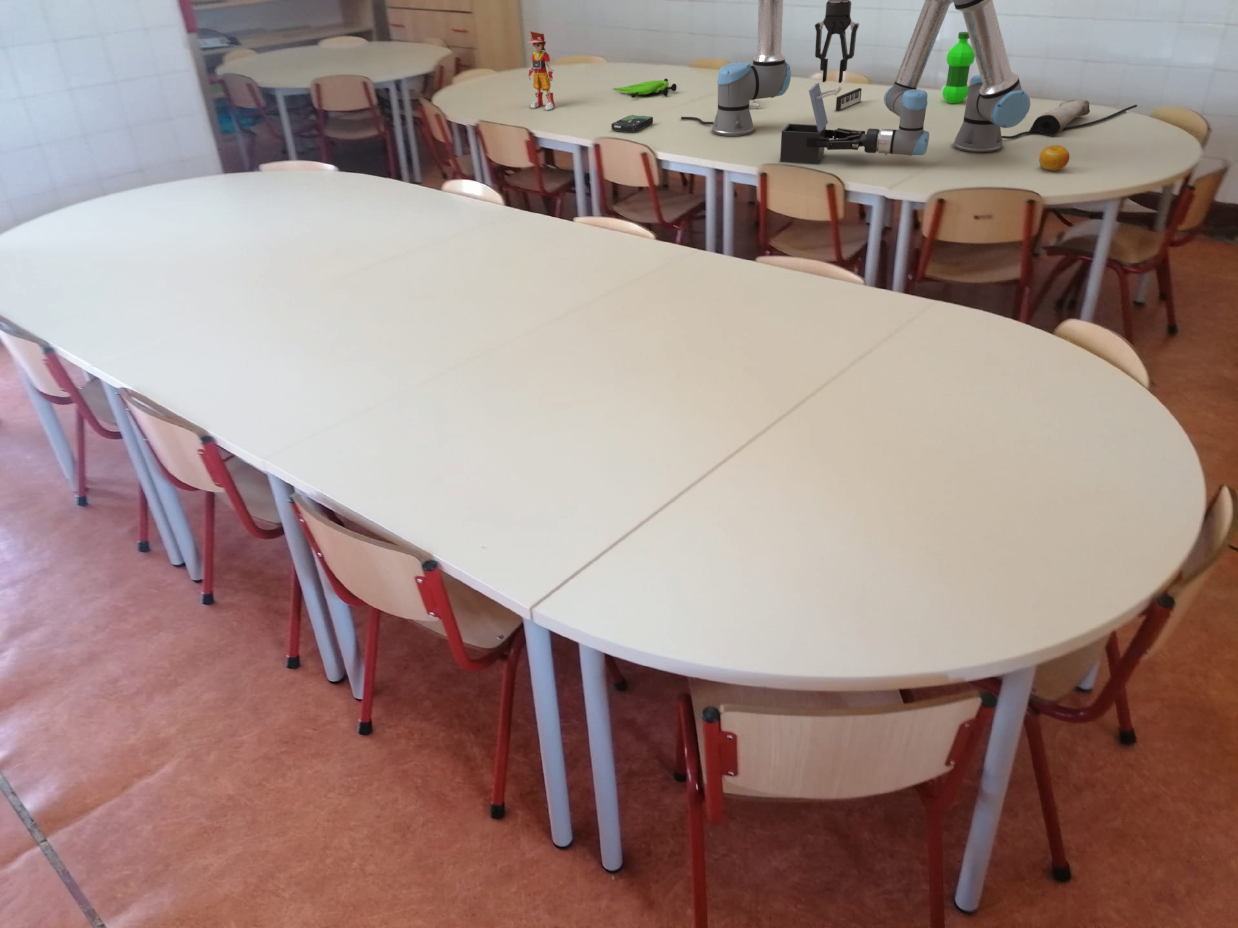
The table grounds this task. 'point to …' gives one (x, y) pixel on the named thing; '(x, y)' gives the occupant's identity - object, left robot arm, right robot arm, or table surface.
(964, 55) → the plastic bottle
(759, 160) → the table surface
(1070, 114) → the rolled mat
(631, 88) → the toy
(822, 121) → the lid
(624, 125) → the disk drive
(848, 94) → the midi keyboard
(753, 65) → the left robot arm
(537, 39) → the toy
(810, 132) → the chest
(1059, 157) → the fruit
